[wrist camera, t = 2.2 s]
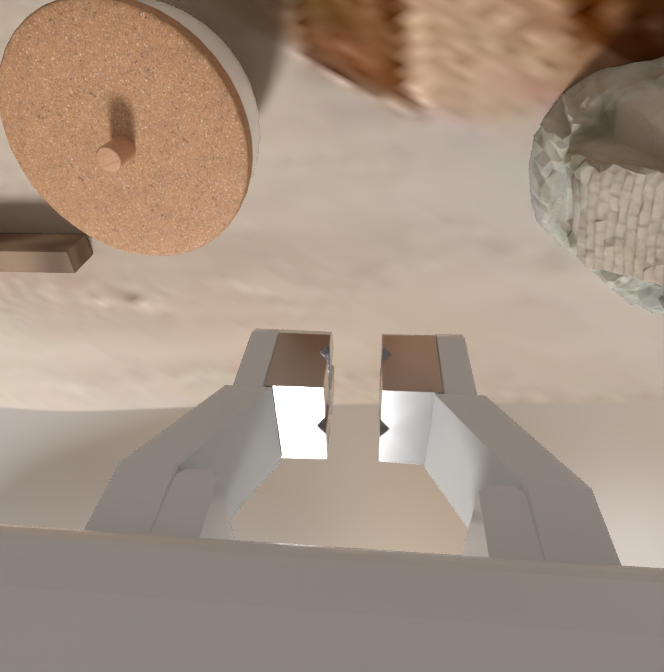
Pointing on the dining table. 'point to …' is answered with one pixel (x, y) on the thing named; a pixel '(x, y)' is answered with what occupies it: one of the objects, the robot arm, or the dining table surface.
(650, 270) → the ceramic cottage
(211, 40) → the lidded jar
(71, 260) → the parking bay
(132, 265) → the dining table surface
